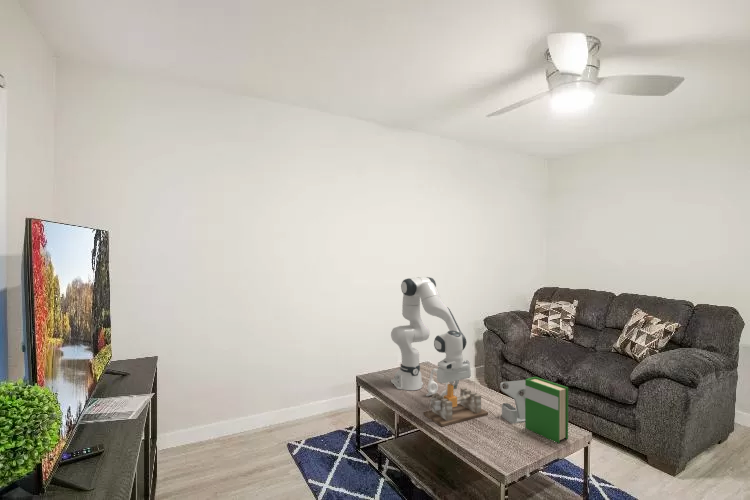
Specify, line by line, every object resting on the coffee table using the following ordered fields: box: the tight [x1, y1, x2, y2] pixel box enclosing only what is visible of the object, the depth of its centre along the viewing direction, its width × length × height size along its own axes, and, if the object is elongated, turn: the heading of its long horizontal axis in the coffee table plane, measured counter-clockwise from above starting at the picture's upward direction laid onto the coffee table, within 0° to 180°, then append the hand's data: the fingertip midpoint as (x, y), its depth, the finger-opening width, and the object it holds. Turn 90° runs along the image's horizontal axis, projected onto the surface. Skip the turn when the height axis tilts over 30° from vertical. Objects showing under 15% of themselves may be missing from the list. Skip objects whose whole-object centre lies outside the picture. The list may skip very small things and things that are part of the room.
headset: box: [425, 368, 449, 399], centre depth 224 cm, size 20×7×18 cm, turn 20°
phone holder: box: [499, 379, 525, 424], centre depth 203 cm, size 17×10×18 cm, turn 104°
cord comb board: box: [423, 387, 489, 428], centre depth 206 cm, size 16×30×10 cm, turn 117°
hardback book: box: [524, 376, 569, 444], centre depth 185 cm, size 18×7×24 cm, turn 31°
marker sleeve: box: [444, 383, 458, 407], centre depth 204 cm, size 5×5×11 cm
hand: (454, 388), depth 206 cm, fingers closed
